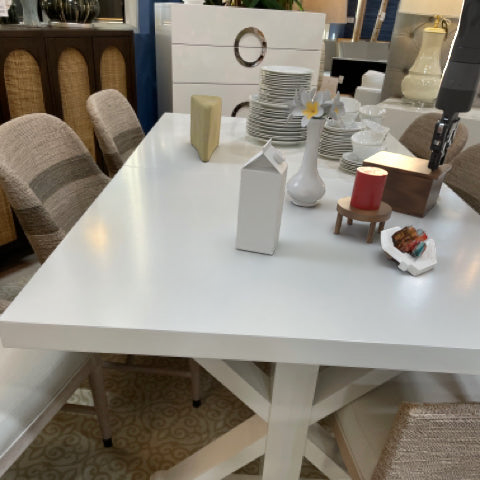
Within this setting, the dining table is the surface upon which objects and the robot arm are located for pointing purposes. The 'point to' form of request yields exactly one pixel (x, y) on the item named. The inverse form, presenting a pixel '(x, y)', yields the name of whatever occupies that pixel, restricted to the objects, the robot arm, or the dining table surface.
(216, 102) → the cheese
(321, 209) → the dining table surface
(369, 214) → the stool
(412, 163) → the lid
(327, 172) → the dining table surface
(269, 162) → the milk carton
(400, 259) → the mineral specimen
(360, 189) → the can
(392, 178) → the chest
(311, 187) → the flower vase
